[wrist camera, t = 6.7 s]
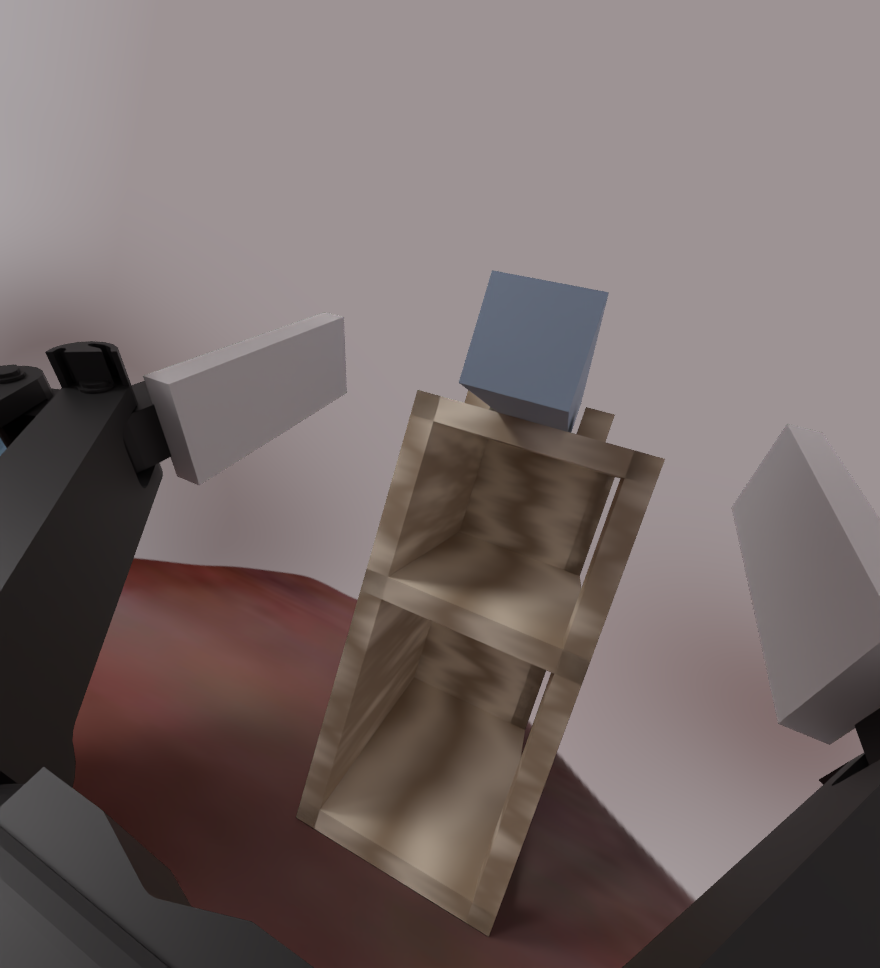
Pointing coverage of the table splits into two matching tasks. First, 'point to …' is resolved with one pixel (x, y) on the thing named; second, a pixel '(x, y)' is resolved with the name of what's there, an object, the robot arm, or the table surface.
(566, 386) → the block
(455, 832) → the shelf stand
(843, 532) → the robot arm
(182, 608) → the table surface
